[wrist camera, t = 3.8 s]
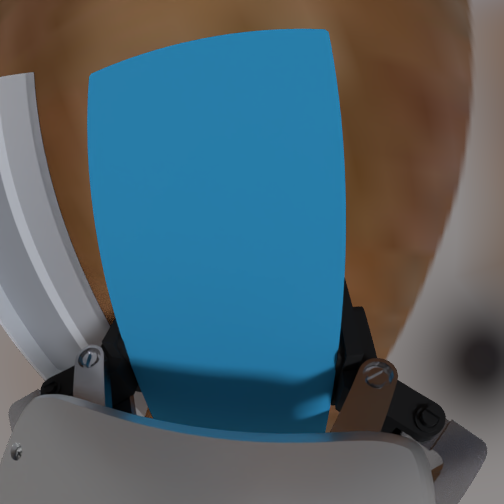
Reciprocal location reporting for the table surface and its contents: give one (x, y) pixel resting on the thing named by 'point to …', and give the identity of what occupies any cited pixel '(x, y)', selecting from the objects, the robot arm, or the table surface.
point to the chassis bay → (39, 248)
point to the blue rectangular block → (224, 225)
